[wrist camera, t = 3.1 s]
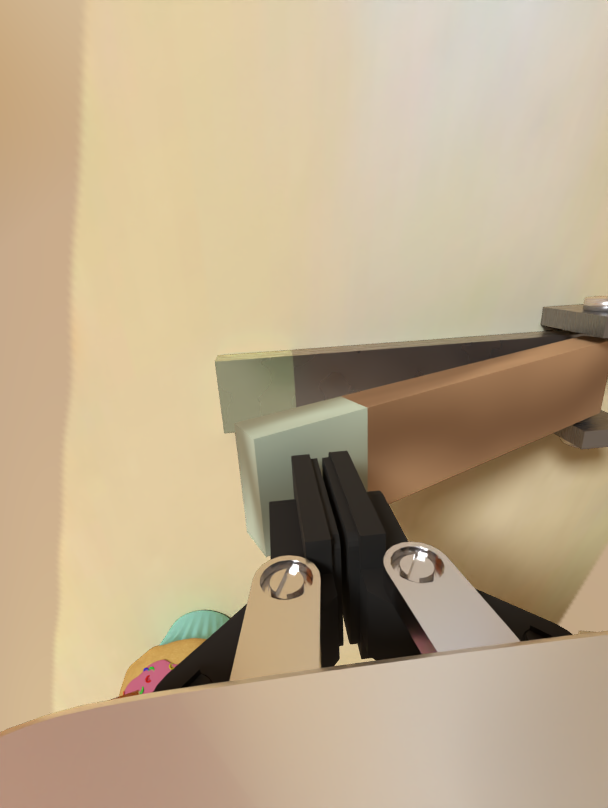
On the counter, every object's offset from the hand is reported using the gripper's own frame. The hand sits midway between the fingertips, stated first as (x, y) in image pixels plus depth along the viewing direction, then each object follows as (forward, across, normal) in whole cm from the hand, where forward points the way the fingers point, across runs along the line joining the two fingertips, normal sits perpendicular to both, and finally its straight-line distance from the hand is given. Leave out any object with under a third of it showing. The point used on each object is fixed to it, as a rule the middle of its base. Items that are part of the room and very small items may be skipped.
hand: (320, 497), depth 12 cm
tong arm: (+6, -7, 0) cm, 9 cm away
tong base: (+12, -8, 0) cm, 14 cm away
